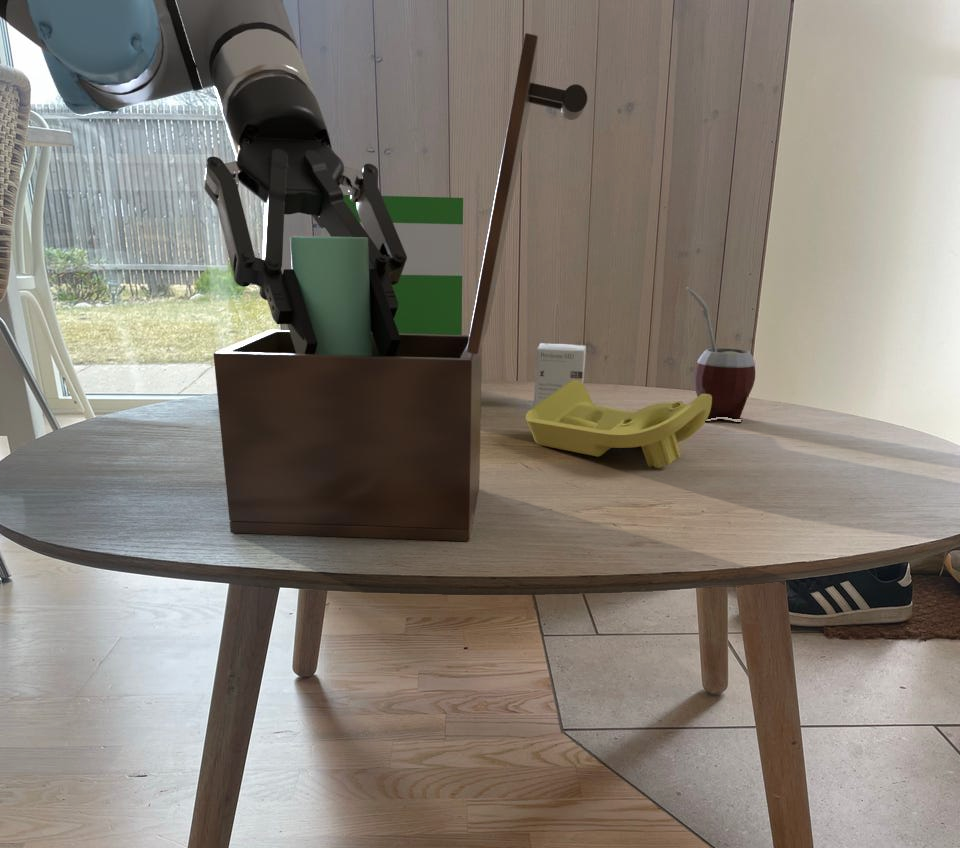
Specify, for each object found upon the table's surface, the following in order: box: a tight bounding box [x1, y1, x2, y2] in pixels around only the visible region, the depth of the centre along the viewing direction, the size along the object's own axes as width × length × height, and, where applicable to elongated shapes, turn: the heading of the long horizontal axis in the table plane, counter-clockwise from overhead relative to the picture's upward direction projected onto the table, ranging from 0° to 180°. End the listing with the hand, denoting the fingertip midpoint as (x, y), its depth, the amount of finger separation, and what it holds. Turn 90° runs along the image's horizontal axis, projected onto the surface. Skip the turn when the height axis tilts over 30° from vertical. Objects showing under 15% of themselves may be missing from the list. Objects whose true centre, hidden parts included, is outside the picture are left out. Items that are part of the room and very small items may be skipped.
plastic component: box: [525, 380, 712, 469], centre depth 93 cm, size 20×7×10 cm
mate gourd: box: [685, 286, 756, 419], centre depth 110 cm, size 8×8×15 cm
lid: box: [467, 32, 588, 354], centre depth 65 cm, size 19×15×5 cm
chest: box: [213, 329, 483, 542], centre depth 72 cm, size 18×15×13 cm
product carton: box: [533, 342, 587, 407], centre depth 117 cm, size 6×6×7 cm
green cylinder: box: [289, 235, 372, 356], centre depth 69 cm, size 6×6×11 cm
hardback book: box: [320, 194, 464, 335], centre depth 122 cm, size 18×7×24 cm, turn 97°
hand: (351, 353), depth 67 cm, fingers closed on green cylinder, 6 cm apart
